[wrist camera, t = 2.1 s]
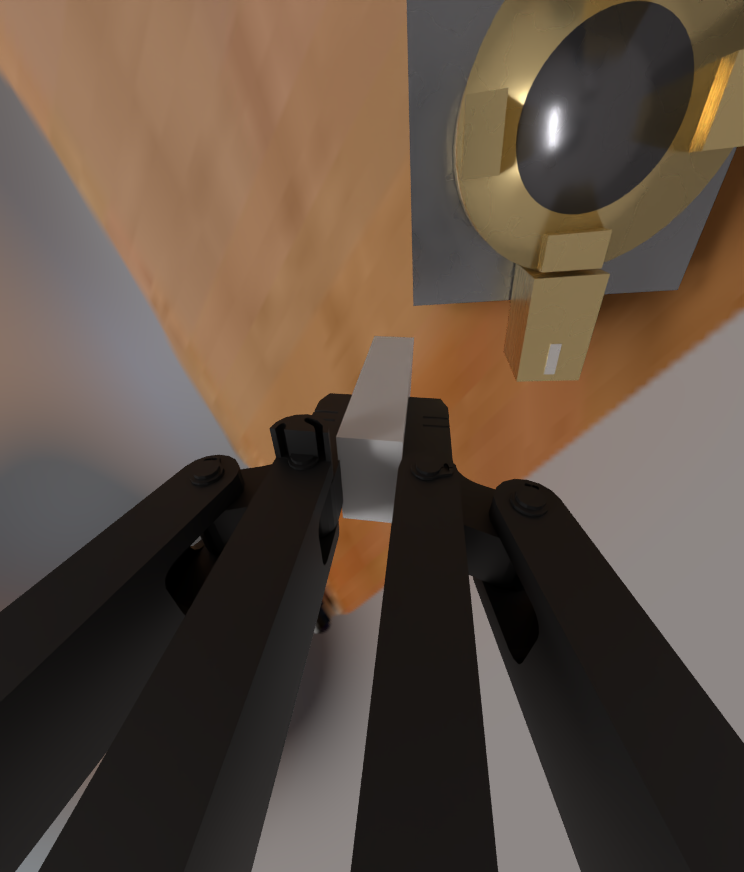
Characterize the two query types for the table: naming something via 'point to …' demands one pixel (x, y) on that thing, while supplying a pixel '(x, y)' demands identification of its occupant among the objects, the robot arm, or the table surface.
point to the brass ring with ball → (590, 148)
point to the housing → (437, 193)
